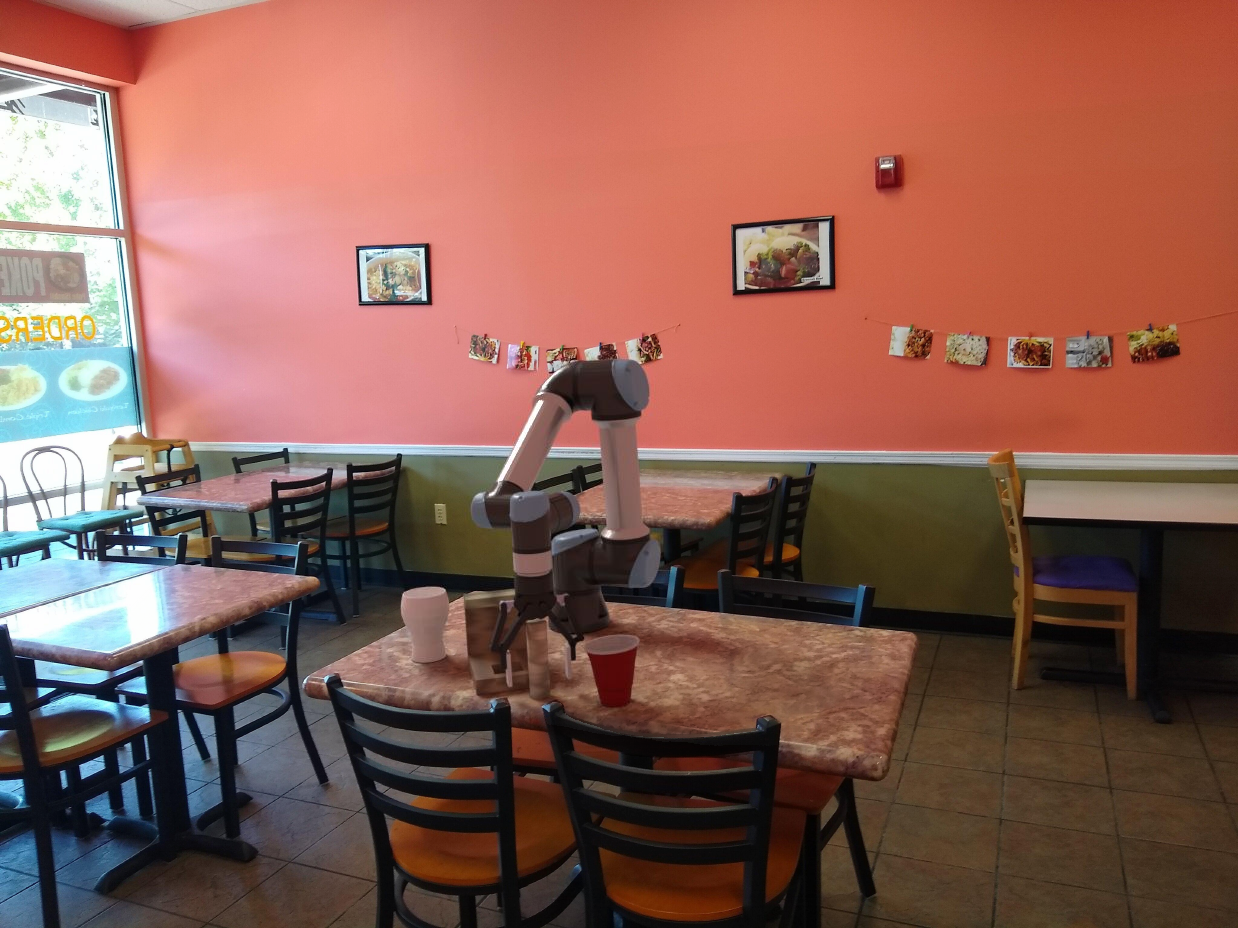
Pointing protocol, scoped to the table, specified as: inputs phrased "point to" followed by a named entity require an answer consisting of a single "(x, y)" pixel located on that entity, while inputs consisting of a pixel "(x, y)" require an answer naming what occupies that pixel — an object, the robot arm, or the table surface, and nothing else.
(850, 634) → the table surface
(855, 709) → the table surface
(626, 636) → the plastic cup
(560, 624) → the robot arm
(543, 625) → the peg
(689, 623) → the table surface
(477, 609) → the socket block
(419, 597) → the cup
